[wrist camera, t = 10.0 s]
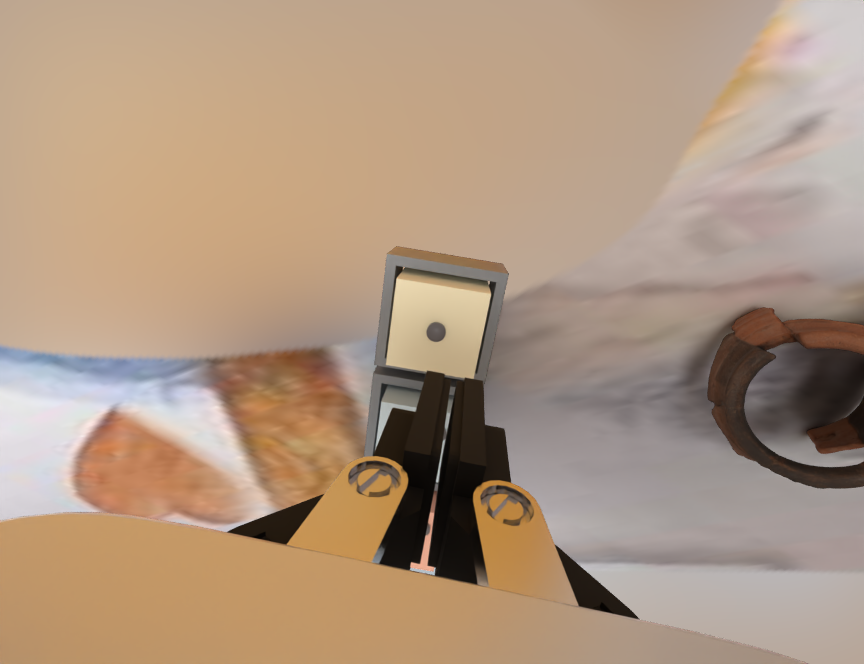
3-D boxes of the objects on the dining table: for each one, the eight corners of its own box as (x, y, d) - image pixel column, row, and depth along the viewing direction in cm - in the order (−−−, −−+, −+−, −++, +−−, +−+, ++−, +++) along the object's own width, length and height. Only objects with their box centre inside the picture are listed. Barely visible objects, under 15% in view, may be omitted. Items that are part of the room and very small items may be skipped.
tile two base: (480, 369, 24) (482, 391, 21) (463, 450, 26) (463, 481, 23) (383, 352, 24) (373, 373, 22) (373, 435, 26) (363, 464, 24)
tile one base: (502, 263, 22) (508, 274, 19) (482, 361, 24) (484, 383, 21) (396, 246, 22) (386, 253, 19) (384, 345, 24) (374, 364, 21)
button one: (486, 276, 22) (491, 295, 18) (471, 349, 23) (473, 382, 19) (407, 263, 22) (395, 279, 18) (398, 337, 24) (384, 367, 19)
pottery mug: (770, 467, 26) (795, 540, 19) (669, 348, 28) (659, 376, 21) (1032, 368, 19) (1211, 424, 13) (876, 225, 22) (956, 207, 15)
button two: (465, 381, 24) (465, 419, 20) (452, 442, 26) (451, 488, 22) (393, 369, 24) (380, 404, 20) (385, 430, 26) (371, 474, 22)
